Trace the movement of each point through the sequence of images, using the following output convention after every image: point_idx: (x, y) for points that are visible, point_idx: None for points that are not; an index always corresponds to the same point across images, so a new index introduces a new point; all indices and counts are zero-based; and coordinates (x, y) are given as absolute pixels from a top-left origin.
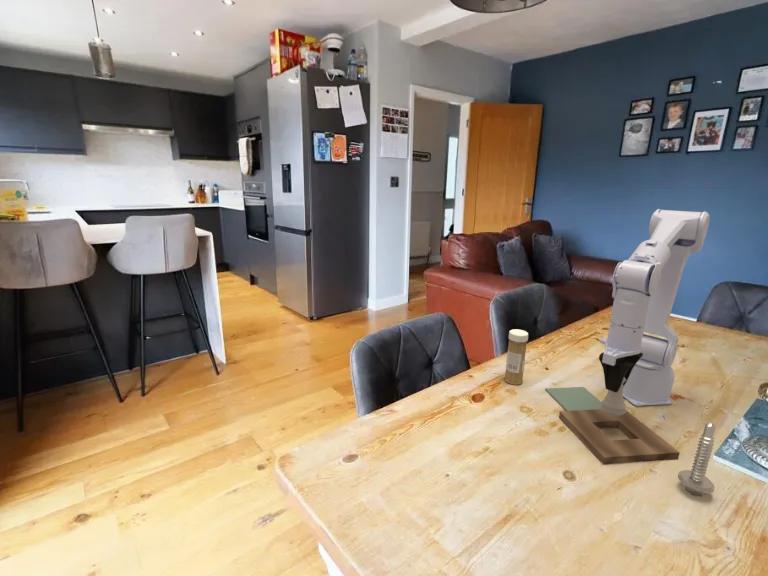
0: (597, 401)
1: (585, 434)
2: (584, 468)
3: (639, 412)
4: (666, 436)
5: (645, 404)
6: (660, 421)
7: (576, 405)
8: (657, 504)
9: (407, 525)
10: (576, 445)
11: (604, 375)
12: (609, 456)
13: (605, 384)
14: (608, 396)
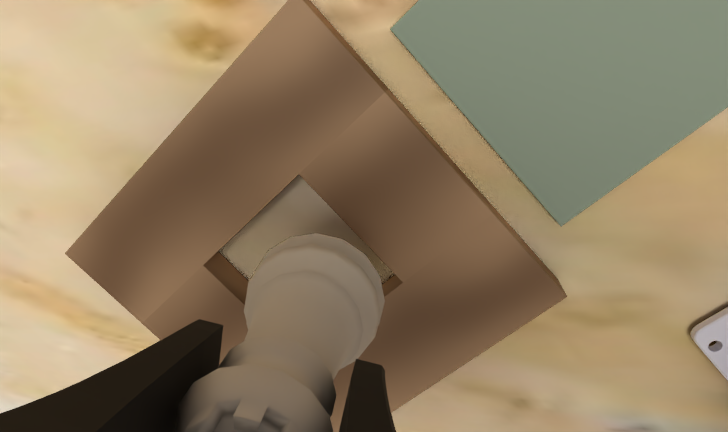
0: (622, 157)
1: (164, 164)
2: (14, 186)
3: (625, 345)
4: (455, 427)
5: (723, 375)
6: (581, 416)
7: (492, 57)
8: (32, 381)
9: None
10: (128, 132)
11: (91, 376)
12: (85, 268)
13: (174, 333)
14: (263, 304)
